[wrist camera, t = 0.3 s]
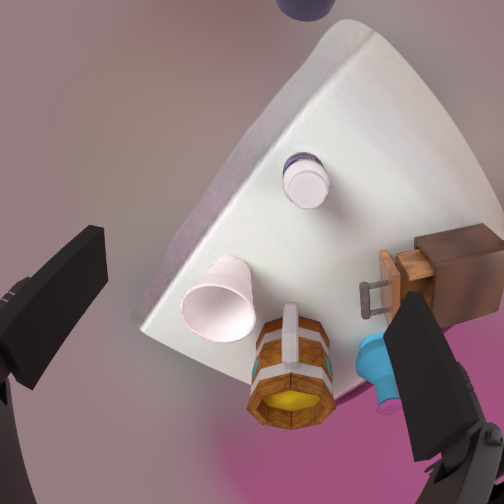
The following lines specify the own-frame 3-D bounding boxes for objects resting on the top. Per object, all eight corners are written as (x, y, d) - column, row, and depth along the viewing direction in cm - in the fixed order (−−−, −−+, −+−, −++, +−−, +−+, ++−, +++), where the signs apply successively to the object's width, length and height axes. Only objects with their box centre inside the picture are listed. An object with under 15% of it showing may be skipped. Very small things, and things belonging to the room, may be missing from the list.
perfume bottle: (388, 362, 54) (402, 422, 41) (346, 361, 54) (355, 424, 41) (404, 329, 50) (427, 392, 36) (360, 327, 50) (375, 394, 37)
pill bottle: (313, 144, 37) (321, 157, 28) (329, 180, 39) (341, 204, 30) (276, 160, 38) (272, 178, 30) (292, 195, 40) (294, 222, 32)
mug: (327, 364, 55) (331, 428, 42) (259, 365, 57) (251, 429, 44) (333, 282, 46) (345, 352, 33) (248, 285, 48) (233, 354, 35)
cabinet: (413, 298, 46) (429, 332, 38) (414, 237, 41) (436, 266, 33) (476, 281, 43) (498, 310, 35) (483, 223, 38) (511, 247, 30)
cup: (209, 233, 45) (188, 272, 35) (272, 255, 45) (267, 300, 36) (194, 284, 49) (174, 328, 40) (251, 304, 50) (242, 351, 40)
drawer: (357, 310, 47) (364, 339, 41) (352, 256, 43) (361, 282, 37) (446, 290, 44) (462, 315, 38) (450, 236, 39) (471, 257, 33)
